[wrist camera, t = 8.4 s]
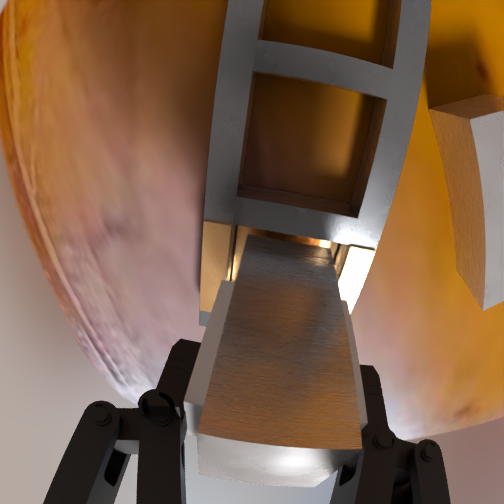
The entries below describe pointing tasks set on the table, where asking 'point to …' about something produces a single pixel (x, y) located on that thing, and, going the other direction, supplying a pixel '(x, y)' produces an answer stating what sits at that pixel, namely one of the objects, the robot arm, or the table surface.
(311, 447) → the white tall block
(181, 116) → the table surface
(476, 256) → the block
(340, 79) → the grey flat frame
